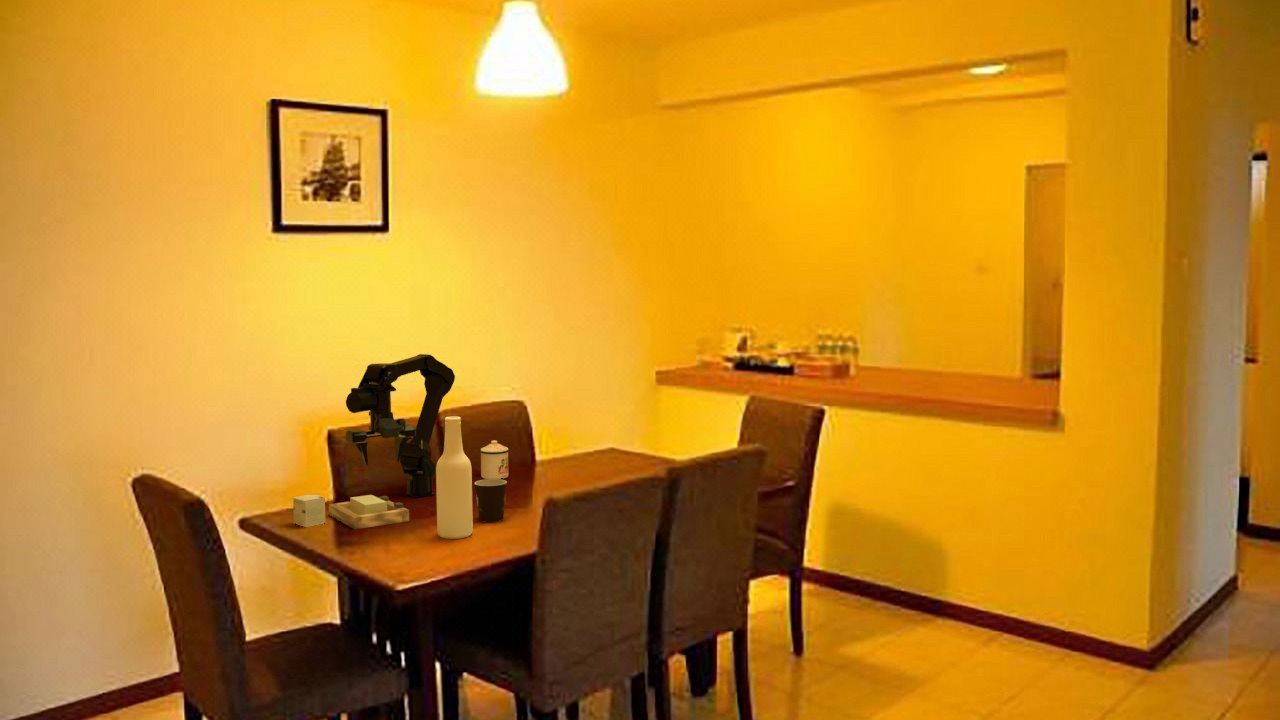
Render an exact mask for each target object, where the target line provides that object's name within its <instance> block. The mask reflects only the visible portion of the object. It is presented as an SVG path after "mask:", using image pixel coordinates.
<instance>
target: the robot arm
mask: <svg viewBox="0 0 1280 720" xmlns="http://www.w3.org/2000/svg"><path fill="white" fill-rule="evenodd" d="M418 371H419V374H420V375H421V376H422V377H423V378H424V383H423V384H424V388H425V392H426V394H425V396H424V401H423V403H422V407H421V410H420V414H419V416H418V417H419V418H418V420H417V423H416V427H415V425H412V424H407V423H406V419H404V418H397V419H394V413H393V412H392V400H391V392H396V391H397V388H396V387H394V385H392V383H395V382H396V381H397V380H398V379H399V378H400V377H403V376H406V375H408V374H412V373H416V372H418ZM455 380H456V375H455V373H454V370H453V369H452V368H451V367H449V366H448V365H446V364H445V363H443V362H441V361H439V360H438V359H436V358H435V356H433V355H432V354H427V353H426V354H425V353H424V354H423V353H419V354H417V355H415V356H412V357H408V358H405V359H404V358H403V359H401V360H397V361H394V362H391V363H387V362H386V363H385V362H384V363H383V362H382V363H381V362H380V363H370V364H369V365H367V367H366V370H365V372H364V374H363V376H362V378H361V380H360V381H359V384H358V386H357V387H351V388H350V393H348V395H347V397H346V399H345V405H346V409H347V410H348V411H349V412H350V413H352V414H356V413H362V412H363V413H364V412H368V416H370V417H369V418H370V425H368V431H367V430H363V429H362V428H357V429H356V428H355V429H348V430H347V431H346V433H345V441H348V442H350V443H351V444H354V445H355V448H356V449H357V450H358V452H359V455H360V457H361V458H362V461H363V463H364V466H369V460H368V459H369V458H368V457H369V456H368V455H369V454H368V443H369V442H367V441H366V440H367V439H369V438H378V437H379V438H381V437H382V439H389V438H394V451H395V452H394V456H395V461H396V462H397V463H400V465H401V468H402V471H403V474H404V475H407V476H408V477H407V478H408V479H406V492H405V493H406V495H408V496H410V497H412V498H421V497H428V496H435V495H436V493H435V492H433V476H434V475H436V466H437V464H435V463H434V462H433V460H431V458H432V450H431V445H430V442H431V439H432V435H433V432H434V428H435V424H436V422H437V418H438V416H439V412H440V408H441V405H442V401H443V399H444V398H445V396H446V395H447V394H448V393H449V392H450V391H451V390H452V387H453V385H454V382H455ZM409 440H410V441H409ZM408 441H409V442H408Z"/></svg>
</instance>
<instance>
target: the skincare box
mask: <svg viewBox="0 0 1280 720" xmlns="http://www.w3.org/2000/svg"><path fill="white" fill-rule="evenodd" d="M292 500H293V504H292V505H293V507H292V509H293V514H292V515H293V524H294V523H296V524H298V525H301V526H304V527H309V526H314V525H318V526H320V525H319V524H323V525H325V524H326V497H324V496H322V495H318V494H315V493H311V494H306V495H305V494H304V495H299V496H294V497H293V498H292ZM324 523H325V524H324ZM298 525H297V526H298ZM301 526H300V527H301ZM304 527H303V528H304ZM314 527H315V526H314ZM309 528H310V527H309Z"/></svg>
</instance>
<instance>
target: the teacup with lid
mask: <svg viewBox="0 0 1280 720" xmlns="http://www.w3.org/2000/svg"><path fill="white" fill-rule="evenodd" d="M509 450H510V449H509V448H508V447H507V446H505V445H502V444H500V443H498V440H494V439H493V440H491V441H490V443H489V444H487V445H486V446H483V447H481V448H480V450H479V452H480V475H481V478H482V479H483V480H486V479H500V480H502V479H501V478H503V479H507V478H508V477H509V452H510V451H509Z"/></svg>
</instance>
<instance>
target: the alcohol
mask: <svg viewBox="0 0 1280 720" xmlns="http://www.w3.org/2000/svg"><path fill="white" fill-rule="evenodd" d="M461 420H462V418H461V416H457V415H452V416H446V417H445V418H444V421H445V422H444V425H445V429H444V443H443V444H444V445H443V452H442V455H441V456H440V457H439V458H438V461H436V474H435V479H436V480H435V481H436V482H435V483H436V486H435V487H436V524H437V525H436V526H437V529H436V530H437V534H438V536H439V537H440V538H442V539H445V540H447V539H448V540H451V539H452V540H457V539H459V540H460V539H464V538H468V537H470V536H471V535H472V533H473V530H474V527H473V525H474V524H473V521H474V518H473V514H474V513H473V481H472V480H473V478H472V477H473V475H472V474H473V472H472V471H473V470H472V467H473V466H472V463H471V460H470V458H468V456H467V455H466V454H465V451H464V447H463V438H462V437H463V435H462V427H461V426H462V425H461V424H462V422H461Z"/></svg>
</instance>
